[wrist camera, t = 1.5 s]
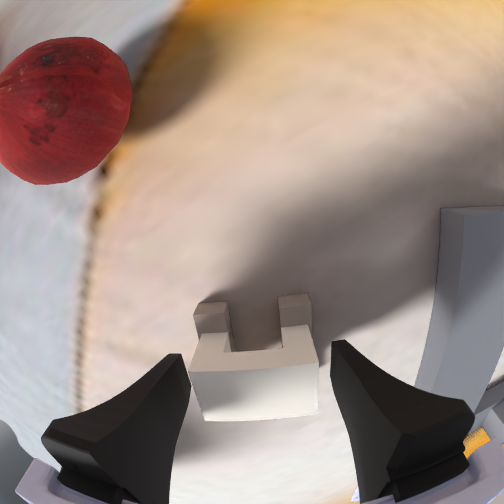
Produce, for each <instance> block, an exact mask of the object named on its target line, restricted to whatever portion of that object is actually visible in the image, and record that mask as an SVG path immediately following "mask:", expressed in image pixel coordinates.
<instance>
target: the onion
mask: <svg viewBox="0 0 504 504" xmlns="http://www.w3.org/2000/svg"><path fill="white" fill-rule="evenodd" d="M132 96H133V89H132V85H131V81H130V78H129V74H128V70H127V66H126V65H125V64H124V62H123V61H122V60H121V58H120V57H119V56H118V55H117V54H116V53H114V52H113V51H112V50H111V49H109V48H108V47H107V46H105V45H104V44H102V43H100V42H99V41H97V40H95V39H93V38H87V37H66V38H57V39H50V40H47V41H44V42H41V43H38V44H36V45H34V46H32V47H30V48H28V49H27V50H25V51H24V52H23V53H21V54H20V55H19V56H18V57H16V58H15V59H14V60H13V61H12V62H11V63H9V64H8V65H7V67H6V68H5V69H4V70H3V71H2V73H1V74H0V162H1V163H2V165H3V166H5V167H6V168H7V169H8V170H9V171H10V172H11V173H13V174H15V175H16V176H18V177H20V178H21V179H23V180H24V181H27V182H30V183H32V184H35V185H49V184H56V183H64V182H68V181H71V180H73V179H76V178H78V177H80V176H82V175H83V174H85V173H86V172H88V171H90V170H92V169H93V168H95V167H97V165H98V164H99V163H100V162H101V161H102V160H103V159H104V158H105V157H106V155H107V154H108V153H109V152H110V151H111V150H112V149H113V148H114V147H115V146H116V145H117V143H118V141H119V139H120V137H121V135H122V133H123V131H124V129H125V127H126V125H127V123H128V119H129V114H130V108H131V103H132Z"/></svg>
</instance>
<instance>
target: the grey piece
mask: <svg viewBox="0 0 504 504" xmlns="http://www.w3.org/2000/svg"><path fill="white" fill-rule="evenodd" d="M503 347H504V206H482V207H459V208H441V223H440V248H439V262H438V273H437V282H436V290H435V297H434V304H433V310H432V316H431V321H430V326H429V331H428V336H427V341H426V345H425V349H424V353H423V357H422V361H421V365H420V369H419V372H418V376H417V379H416V382H415V386H414V387H416V388H418V389H421V390H424V391H427V392H430V393H433V394H437V395H440V396H444V397H450V398H456V399H462V400H464V401H465V402H466V403H467V405H468V406H469V407H470V409H471V410H472V412H473V413H474V415H475V421H474V424H473V426H472V428H471V430H470V431H469V433H468V435H469V434H471V433H472V432H474V431H476V430H478V429H479V428H481V427H483V429H484V430H485V432H486V433H487V435H488V436H489V438H490V439H491V440H492V439H493V438H496V437H497V439H498V440H499V442H500V443H501V445H503V444H504V380H503V381H502V382H500V383H498V384H497V385H495V386H493V387H492V388H490V389H488V390H486V388H487V386H488V384H489V381H490V379H491V377H492V375H493V372H494V370H495V368H496V365H497V363H498V360H499V358H500V355H501V352H502V350H503ZM485 390H486V391H485Z"/></svg>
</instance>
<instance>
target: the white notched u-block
mask: <svg viewBox="0 0 504 504" xmlns="http://www.w3.org/2000/svg"><path fill="white" fill-rule="evenodd" d="M278 304H279V316H280V327H281V339H282V348H278V349H268V350H256V351H242V352H236V349H235V344H234V338H233V333H232V327H231V321H230V316H229V310H228V304H227V301H223V302H211V303H199V304H198V306H197V308H196V310H195V312H194V314H193V316H194V321H195V325H196V329H197V333H198V337H199V343H198V345H197V348H196V351H195V354H194V357H193V359H192V362H191V365H190V368H189V371H188V373H189V376H190V379H191V382H192V385H193V388H194V391H195V394H196V397H197V400H198V402H199V405H200V408H201V411H202V413H203V416H204V419H205V421H254V420H270V419H282V418H291V417H300V416H308V415H315V414H317V408H318V382H319V361H318V357H317V354H316V350H315V347H314V344H313V338H312V304H311V301H310V299H309V296H308V293H304V294H295V295H286V296H278Z"/></svg>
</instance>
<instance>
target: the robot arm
mask: <svg viewBox="0 0 504 504" xmlns="http://www.w3.org/2000/svg"><path fill="white" fill-rule="evenodd" d="M330 377H331V382H332V386H333V391H334V395H335V397H336V400H337V403H338V406H339V408H340V411H341V414H342V417H343V419H344V422H345V425H346V428H347V431H348V434H349V438H350V442H351V447H352V452H353V457H354V462H355V468H356V474H357V481H358V486H357V488H356V490H355V492H354V494H353V496H352V498H351V501H352V502H355V501H359V500H360V504H488V503H490V502H491V501H492V500H493V499H494V498H496V497H497V496H498V495H499V494H500V493H502V492H503V491H504V448H503V446H502V445H501V443H500V442H499V440H498V439H497V437H496V438H493V439H492V440H490V441H489V442H487V443H486V444H484V445H482V446H481V447H479V448H478V449H476V450H475V451H474V452H473V453H471V455H470V456H469V457H468V458H467V459H466V457H465V455H464V453H463V452H464V451H465V446H464V444H463V443H462V442H463V441H464V439H465V438H466V436H467V435H468V433H469V431H470V430H471V428H472V426H473V424H474V421H475V415H474V413H473V412H472V410H471V409H470V407H469V406H468V405H467V403H466V402H465V401H464V400H462V399H456V398H450V397H444V396H440V395H437V394H433V393H430V392H427V391H424V390H421V389H418V388H416V387H413V386H411V385H409V384H406V383H404V382H402V381H400V380H399V379H397V378H395V377H393V376H391V375H390V374H388V373H386V372H385V371H383V370H382V369H380V368H379V367H378V366H376V365H375V364H373V363H372V362H371V361H370V360H368V359H367V358H366V357H365V356H363V355H362V354H361V353H360V352H359V351H358V350H356V349H355V348H354V347H353V346H352V345H351V344H350V343H348V342H347V341H346V340H345V339H344V340H338V341H332V344H331V368H330ZM190 392H191V383H190V380H189V377H188V374H187V371H186V368H185V364H184V361H183V358H182V355H181V354H168V355H167V356H166V357H164V358H163V359H162V360H161V361H160V362H159V363H158V364H156V365H155V366H154V367H153V368H152V369H151V370H150V371H148V372H147V373H146V374H145V375H144V376H143V377H141V378H140V379H139V380H138V381H136V382H135V383H134V384H132V385H131V386H130V387H129V388H127V389H126V390H124V391H123V392H121V393H120V394H118V395H117V396H115V397H113V398H112V399H110V400H108V401H106V402H104V403H102V404H100V405H98V406H96V407H94V408H92V409H89V410H87V411H84V412H81V413H78V414H75V415H72V416H68V417H64V418H60V419H55V420H53V421H52V422H51V424H50V425H49V426H48V428H47V429H46V431H45V432H44V434H43V435H42V437H41V441H42V444H43V445H44V447H45V448H46V449H47V451H48V452H49V453H50V454H51V455H52V456H53V457H54V458H55V460H56V461H57V462H58V463H59V464H60V465H61V466H62V467H63V468H62V470H61V471H60V473H59V472H58V471H57V470H56V469H55V468H54V467H52V466H50V465H49V464H47V463H45V462H43V461H41V460H39V459H37V458H34V460H33V462H32V463H31V465H30V467H29V468H28V470H27V471H26V473H25V474H24V476H23V478H22V479H21V481H20V483H19V485H18V486H17V488H16V490H15V492H16V493H17V494H18V495H19V496H21V497H22V498H23V499H24V500H26V501H27V502H28V503H29V504H169V491H170V479H171V471H172V463H173V457H174V451H175V446H176V442H177V438H178V435H179V432H180V429H181V426H182V423H183V420H184V417H185V413H186V410H187V407H188V404H189V398H190Z"/></svg>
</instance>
